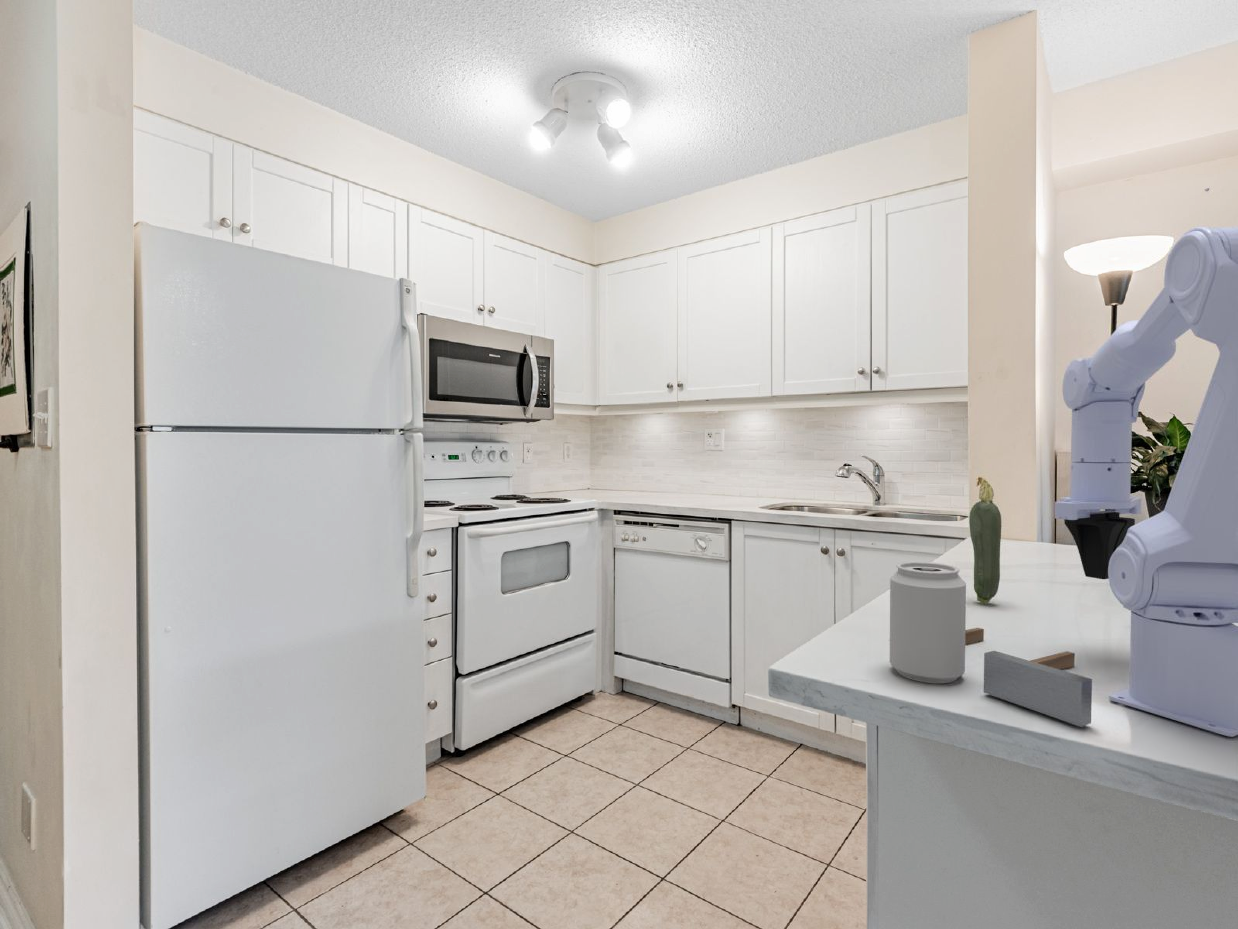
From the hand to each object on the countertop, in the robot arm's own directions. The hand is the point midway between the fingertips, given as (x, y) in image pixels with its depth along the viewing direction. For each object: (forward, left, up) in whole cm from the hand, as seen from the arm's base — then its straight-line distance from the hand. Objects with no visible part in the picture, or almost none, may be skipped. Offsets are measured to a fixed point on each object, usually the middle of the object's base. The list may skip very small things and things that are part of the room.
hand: (1097, 577), depth 77 cm
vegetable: (+22, -12, -10) cm, 27 cm away
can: (+5, +23, -10) cm, 25 cm away
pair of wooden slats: (+5, +13, -9) cm, 17 cm away
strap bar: (-6, +23, -9) cm, 25 cm away
